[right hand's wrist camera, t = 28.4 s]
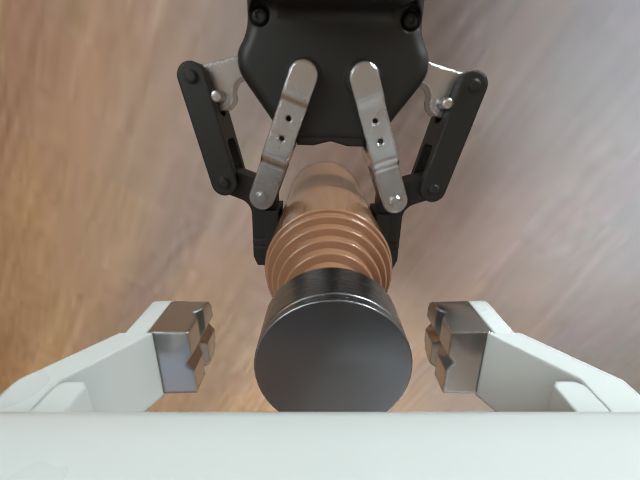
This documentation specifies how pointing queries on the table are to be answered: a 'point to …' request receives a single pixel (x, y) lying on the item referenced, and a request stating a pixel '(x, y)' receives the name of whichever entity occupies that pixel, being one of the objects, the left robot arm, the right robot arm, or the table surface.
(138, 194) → the table surface
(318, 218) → the bottle
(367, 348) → the cap
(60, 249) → the table surface
